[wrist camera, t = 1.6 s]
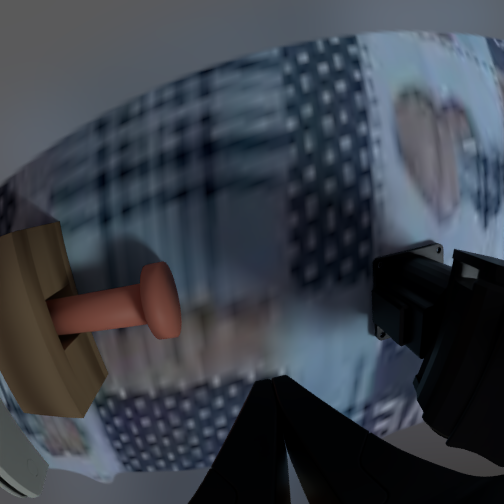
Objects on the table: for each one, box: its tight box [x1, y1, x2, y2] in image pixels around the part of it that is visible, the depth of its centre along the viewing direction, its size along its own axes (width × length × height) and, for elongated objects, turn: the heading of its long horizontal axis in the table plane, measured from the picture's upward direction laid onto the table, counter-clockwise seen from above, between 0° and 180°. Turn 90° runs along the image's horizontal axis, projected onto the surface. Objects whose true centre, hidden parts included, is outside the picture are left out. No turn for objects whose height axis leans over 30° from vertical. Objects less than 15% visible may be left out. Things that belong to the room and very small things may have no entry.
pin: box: [45, 262, 181, 339], centre depth 16 cm, size 10×4×4 cm, turn 100°
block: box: [0, 221, 108, 418], centre depth 16 cm, size 6×12×6 cm, turn 10°
